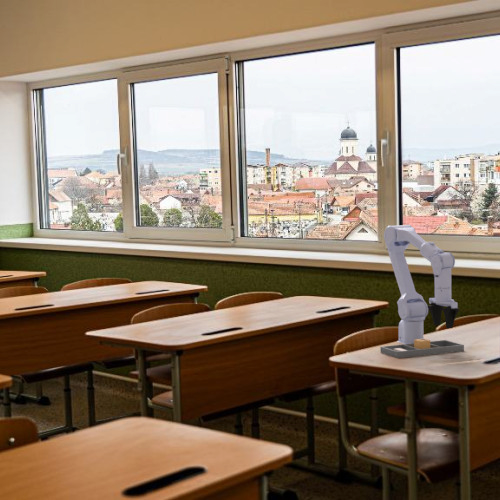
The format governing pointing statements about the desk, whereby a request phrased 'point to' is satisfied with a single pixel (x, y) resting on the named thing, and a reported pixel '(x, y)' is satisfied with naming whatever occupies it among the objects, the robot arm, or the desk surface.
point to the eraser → (400, 349)
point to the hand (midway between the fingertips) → (443, 326)
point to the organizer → (435, 348)
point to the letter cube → (421, 343)
